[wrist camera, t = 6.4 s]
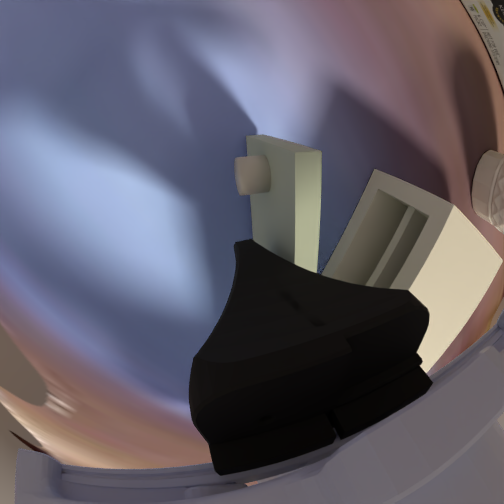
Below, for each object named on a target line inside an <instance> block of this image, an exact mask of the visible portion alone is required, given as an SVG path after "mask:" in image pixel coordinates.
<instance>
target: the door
mask: <svg viewBox="0 0 504 504" xmlns="http://www.w3.org/2000/svg"><path fill="white" fill-rule="evenodd" d="M246 144H247V156H245V157H236V158H235V161H234V172H235V181H236V186H237V190H238V193H239V195H240V196H243V195H250V202H251V217H252V232H253V241H255V242H256V243H258V244H259V245H261V246H263V247H264V248H266V249H268V250H269V251H271V252H273V253H274V254H276V255H278V256H280V257H281V258H283V259H285V260H287V261H289V262H291V263H293V264H296V265H298V266H300V267H302V268H304V269H307V270H309V271H312V272H315V273H317V262H318V247H319V231H320V209H321V173H322V151H320V150H317V149H313V148H310V147H307V146H304V145H300V144H297V143H293V142H290V141H286V140H283V139H279V138H275V137H271V136H267V135H250V136H246Z"/></svg>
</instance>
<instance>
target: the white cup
mask: <svg viewBox="0 0 504 504" xmlns="http://www.w3.org/2000/svg"><path fill="white" fill-rule="evenodd" d="M471 196H472V206H473V209H474V211H475V212H476V214H477V215H478V216H479V217H481V218H483V219H484V220H486V221H487V222H489V223H490V224H492V225H494V226H495V227H496V228H497V229H498V230H499V231H500V232H501V233H503V234H504V154H502V153H499V152H496V151H493V150H489V151H487V152H486V153H484V154H483V155H482V157H481V159H480V161H479V163H478V165H477V168H476V171H475V175H474V178H473V185H472V195H471Z"/></svg>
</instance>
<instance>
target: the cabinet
mask: <svg viewBox="0 0 504 504" xmlns="http://www.w3.org/2000/svg"><path fill="white" fill-rule="evenodd" d="M502 261H503V260H502V259H501V258H500V256H499V255H498V254H497V252H496V251H495V250H494V249H493V247H492V246H491V245H490V244H489V243H488V241H487V240H486V239H485V238H484V237H483V235H482V234H481V233H480V232H479V231H478V230H477V229H476V227H475V226H474V225H473V224H472V223H471V222H470V221H469V220H468V219H467V218H466V217H465V216H464V215H463V213H462V212H461V211H460V210H459V209H458V208H457V207H456V206H455V205H453V204H451V203H450V202H448V201H446V200H444V199H442V198H440V197H438V196H436V195H434V194H432V193H429V192H427V191H425V190H423V189H421V188H419V187H417V186H414V185H412V184H410V183H408V182H406V181H403V180H401V179H399V178H396V177H394V176H391V175H389V174H387V173H384V172H382V171H379V170H377V169H374V171H373V173H372V175H371V177H370V180H369V182H368V184H367V186H366V188H365V190H364V192H363V195H362V197H361V199H360V201H359V203H358V205H357V207H356V209H355V211H354V213H353V215H352V217H351V219H350V221H349V223H348V225H347V227H346V229H345V231H344V233H343V235H342V237H341V239H340V241H339V243H338V244H337V246H336V248H335V250H334V252H333V254H332V256H331V258H330V259H329V261H328V263H327V265H326V267H325V269H324V270H323V272H322V274H321V275H323V276H326V277H330V278H333V279H337V280H341V281H345V282H349V283H354V284H358V285H364V286H371V287H377V288H389V289H403V290H409V291H410V292H411V293H412V294H413V295H414V296H415V297H416V298H417V299H418V300H419V301H420V302H421V303H422V304H424V305H425V306H426V307H427V308H428V311H429V313H430V317H429V325H428V328H427V331H426V334H425V336H424V338H423V340H422V342H421V345H420V347H419V349H418V351H417V353H418V355H419V356H420V357H421V358H422V360H423V362H422V364H421V365H420V366H421V368H422V369H423V370H424V372H425V373H427V372H428V371H429V369H430V368H431V367H432V366H433V365H434V364H435V363H436V361H437V360H438V359H439V358H440V357H441V355H442V354H443V353H444V352H445V350H446V349H447V348H448V347H449V345H450V344H451V343H452V341H453V340H454V339H455V337H456V336H457V335H458V333H459V332H460V331H461V329H462V328H463V327H464V325H465V324H466V322H467V321H468V319H469V318H470V316H471V315H472V313H473V312H474V310H475V309H476V307H477V306H478V304H479V302H480V301H481V299H482V298H483V296H484V294H485V293H486V291H487V289H488V288H489V286H490V284H491V282H492V280H493V279H494V277H495V275H496V273H497V271H498V269H499V267H500V265H501V263H502Z"/></svg>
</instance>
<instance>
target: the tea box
mask: <svg viewBox="0 0 504 504" xmlns="http://www.w3.org/2000/svg"><path fill="white" fill-rule="evenodd" d="M461 1H462V3H463V5H464V6H465V8H466V9H467V11H468V13H469V15H470V16H471V18H472V20H473V22H474V23H475V25H476V27H477V29H478V31H479V33H480V35H481V37H482V39H483V41H484V43H485V45H486V47H487V49H488V51H489V53H490V56H491V58H492V60H493V63H494V65H495V68H496V70H497V73H498V75H499V78H500V81H501V84H502V87H503V90H504V0H461Z"/></svg>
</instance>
